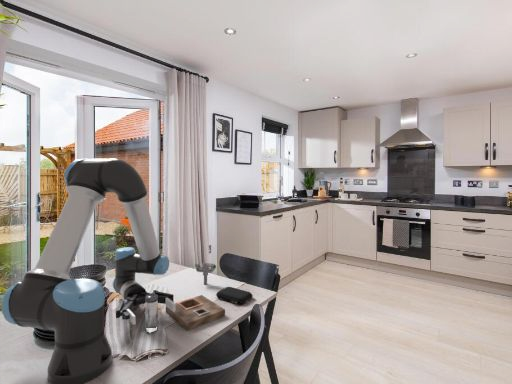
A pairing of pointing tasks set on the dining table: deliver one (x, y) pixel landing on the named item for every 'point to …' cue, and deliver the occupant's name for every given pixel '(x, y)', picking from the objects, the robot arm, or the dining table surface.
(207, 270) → the mechanical component
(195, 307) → the socket board
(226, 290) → the carrying case or bag
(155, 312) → the metal cylinder
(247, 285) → the dining table surface
